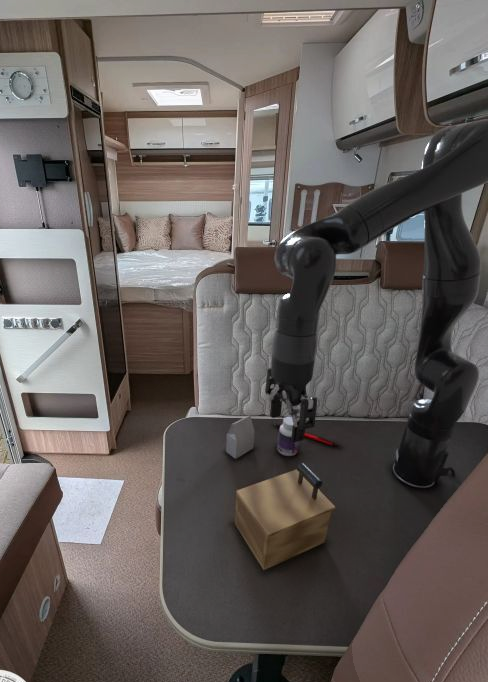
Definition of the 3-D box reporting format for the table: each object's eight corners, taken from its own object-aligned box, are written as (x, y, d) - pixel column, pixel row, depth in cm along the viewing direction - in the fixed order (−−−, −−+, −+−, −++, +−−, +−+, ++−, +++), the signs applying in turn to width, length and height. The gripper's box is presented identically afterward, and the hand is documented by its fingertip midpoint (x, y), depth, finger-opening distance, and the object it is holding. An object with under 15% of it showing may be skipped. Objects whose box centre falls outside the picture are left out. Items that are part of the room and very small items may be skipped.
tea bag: (253, 448, 100) (255, 418, 96) (235, 458, 96) (237, 428, 92) (243, 441, 103) (245, 412, 98) (226, 451, 99) (227, 421, 94)
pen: (337, 448, 101) (338, 444, 100) (273, 426, 110) (274, 423, 109) (338, 446, 101) (339, 443, 101) (275, 425, 110) (275, 421, 110)
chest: (290, 502, 83) (295, 472, 79) (324, 542, 74) (331, 511, 70) (234, 523, 78) (236, 493, 74) (263, 570, 68) (267, 538, 64)
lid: (298, 471, 79) (301, 451, 77) (334, 509, 70) (339, 488, 68) (236, 493, 74) (237, 472, 71) (267, 538, 64) (269, 515, 62)
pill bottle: (297, 458, 97) (301, 428, 92) (276, 455, 98) (280, 425, 93) (297, 445, 101) (301, 416, 97) (277, 442, 102) (280, 414, 98)
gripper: (336, 367, 60) (322, 445, 67) (291, 336, 72) (284, 406, 79) (296, 374, 57) (287, 454, 65) (257, 341, 69) (252, 412, 77)
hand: (285, 427), depth 72 cm, fingers open, 8 cm apart
